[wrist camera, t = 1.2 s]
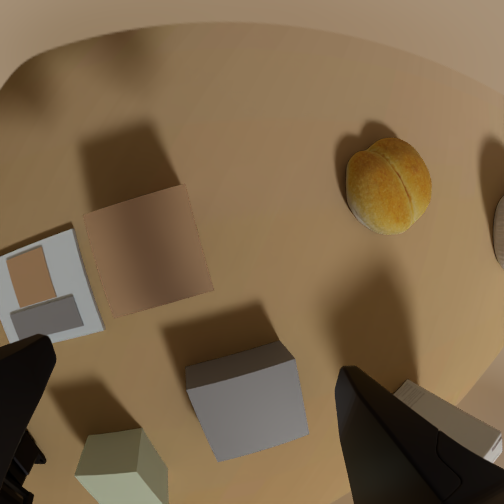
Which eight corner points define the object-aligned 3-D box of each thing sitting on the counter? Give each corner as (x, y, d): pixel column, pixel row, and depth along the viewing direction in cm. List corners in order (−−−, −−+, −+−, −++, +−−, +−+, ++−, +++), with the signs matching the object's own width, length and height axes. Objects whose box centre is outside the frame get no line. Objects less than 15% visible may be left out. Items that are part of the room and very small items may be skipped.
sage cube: (116, 474, 22) (110, 514, 16) (88, 435, 21) (74, 475, 15) (167, 467, 23) (168, 510, 17) (142, 427, 22) (136, 471, 16)
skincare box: (373, 445, 28) (444, 517, 14) (354, 425, 27) (435, 509, 13) (422, 398, 29) (504, 453, 15) (409, 373, 28) (505, 433, 13)
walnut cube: (131, 294, 21) (113, 318, 15) (109, 217, 20) (82, 214, 14) (206, 272, 22) (214, 290, 16) (185, 194, 21) (185, 183, 15)
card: (16, 349, 19) (12, 352, 18) (-14, 263, 18) (-18, 264, 17) (105, 328, 21) (103, 331, 20) (74, 228, 20) (70, 228, 19)
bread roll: (324, 170, 24) (349, 162, 20) (391, 132, 25) (417, 121, 21) (367, 254, 25) (395, 258, 21) (425, 205, 26) (453, 204, 23)
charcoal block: (212, 434, 24) (217, 461, 20) (185, 365, 23) (186, 389, 19) (293, 410, 25) (309, 434, 21) (278, 339, 24) (295, 358, 20)
